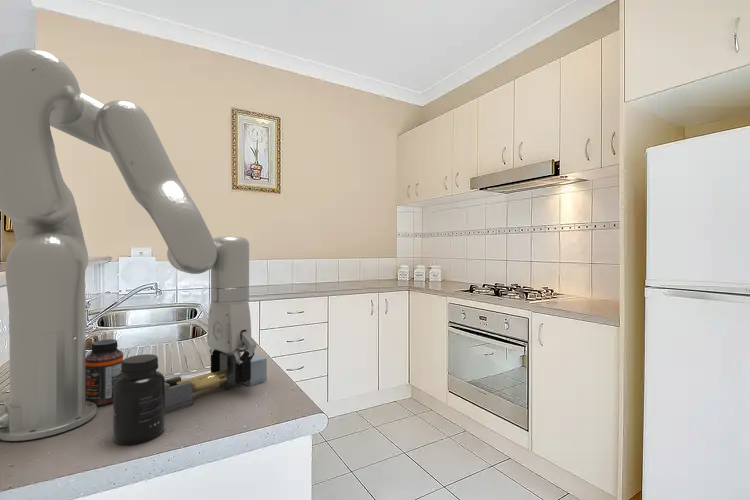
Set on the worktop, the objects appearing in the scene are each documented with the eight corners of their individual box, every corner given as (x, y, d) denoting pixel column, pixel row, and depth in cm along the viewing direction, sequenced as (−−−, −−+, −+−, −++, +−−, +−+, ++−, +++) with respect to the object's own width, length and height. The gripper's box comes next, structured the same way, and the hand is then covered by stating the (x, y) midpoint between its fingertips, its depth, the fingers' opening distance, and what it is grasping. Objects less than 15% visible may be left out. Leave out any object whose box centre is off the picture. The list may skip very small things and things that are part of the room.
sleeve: (133, 423, 62) (133, 394, 62) (120, 413, 65) (120, 386, 65) (193, 404, 69) (193, 378, 69) (178, 396, 73) (178, 371, 73)
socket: (250, 386, 78) (250, 362, 78) (234, 379, 82) (234, 356, 82) (266, 380, 82) (266, 358, 82) (250, 374, 86) (250, 353, 85)
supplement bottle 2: (102, 441, 56) (102, 361, 56) (145, 421, 62) (145, 350, 62) (133, 450, 53) (133, 367, 53) (175, 429, 60) (175, 354, 60)
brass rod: (180, 404, 69) (180, 367, 69) (173, 400, 71) (173, 364, 71) (256, 381, 81) (256, 349, 81) (248, 378, 83) (248, 346, 83)
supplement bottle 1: (76, 405, 69) (76, 344, 69) (107, 392, 75) (107, 336, 74) (101, 408, 67) (101, 346, 67) (131, 396, 73) (130, 338, 73)
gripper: (193, 293, 81) (193, 372, 81) (236, 301, 70) (236, 391, 70) (225, 290, 87) (225, 364, 87) (270, 297, 76) (269, 380, 76)
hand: (230, 376), depth 78 cm, fingers open, 9 cm apart
